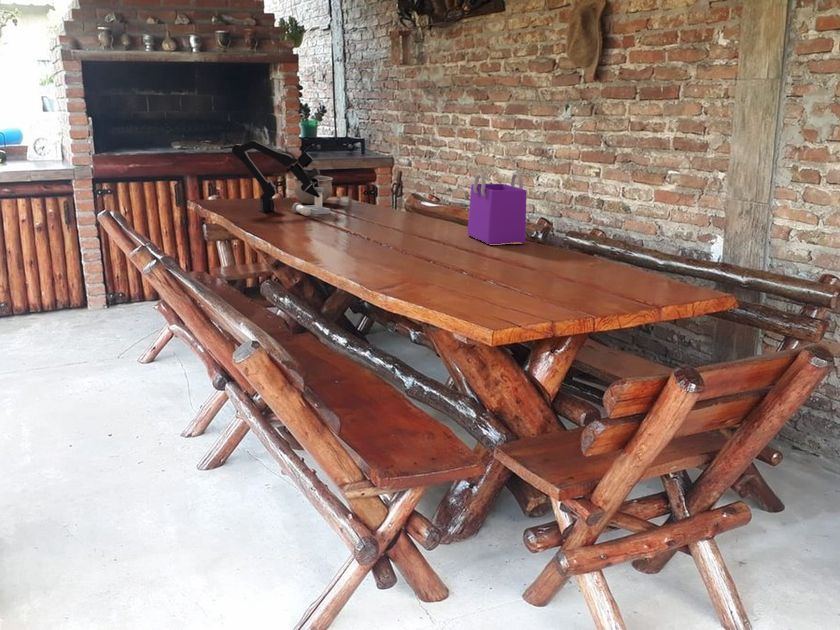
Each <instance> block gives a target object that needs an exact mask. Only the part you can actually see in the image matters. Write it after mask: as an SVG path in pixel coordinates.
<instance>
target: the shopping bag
mask: <svg viewBox="0 0 840 630" xmlns="http://www.w3.org/2000/svg"><path fill="white" fill-rule="evenodd" d="M516 178H517V179H518V186H516V185H515V184H516V183H515V182H516ZM479 179H481V183H479ZM469 197H470V198H469V209H468V210H469V211H468V224H467V236H468V235H469V236H472V237H474V238H477V239H479V240H481V241H483V242H486V243H488V244H501V243H511V242H512V243H513V242H521V243H525V244H526V232H527V231H526V229H527V228H526V226H527V189H524V180H523V177H522V174H521V173H519V172H518V171H517V172H514V173H513V174H512V176H511V179H510V185H509V184H507V183H506V184H505V183H486V177H485V175H484V173H482V172H478V173H477V174H476V175H475V177H474V180H473V183H472V184H471V185H470V196H469ZM469 236H468V237H469Z"/></svg>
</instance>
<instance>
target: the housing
mask: <svg viewBox="0 0 840 630" xmlns="http://www.w3.org/2000/svg"><path fill="white" fill-rule="evenodd" d="M303 206H304V207H306V208H309V209H310V211H311V213H310V215H311V214H312V215H315V216H316V215H327V214H331V208H329V207H328V208H327V207H324V206H322V209H315V204H310V205H303Z"/></svg>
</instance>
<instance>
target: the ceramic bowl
mask: <svg viewBox="0 0 840 630" xmlns="http://www.w3.org/2000/svg"><path fill="white" fill-rule="evenodd" d="M314 177H317V178H318V179H319V180H318V181H319V187H321V188H324V192H323V195H322V204H323V203H324V202H326V201H327V200H328V199H329V198H330V196H332V194H333V185H332V182H333V180H334V178H333V177H330V176H326V175H325V176H324V175H318V176H314ZM314 177H313V178H314ZM293 179H294V184H293V185H294V186H293V192H294V193H295V196H296V198H298V199H299V201H300V202H302V203H303V204H307V205H308V204H310V205H315V196H314V195H311V194H309V193H307V192H305V191H306V189H305V191H302V190H301V186H302V185H303V184H302V183H301V182H300V181H298V180H297V178H296V177H295V176H293ZM318 181H317V182H318Z"/></svg>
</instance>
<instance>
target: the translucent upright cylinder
mask: <svg viewBox="0 0 840 630" xmlns="http://www.w3.org/2000/svg"><path fill="white" fill-rule="evenodd" d="M315 190H316V191H317V193H318V194H319V195H320V197H319V198H318V197H316V196H315V204H314V205H315V209H322V207H323V203H322V192H324V188H321V187H315Z"/></svg>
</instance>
